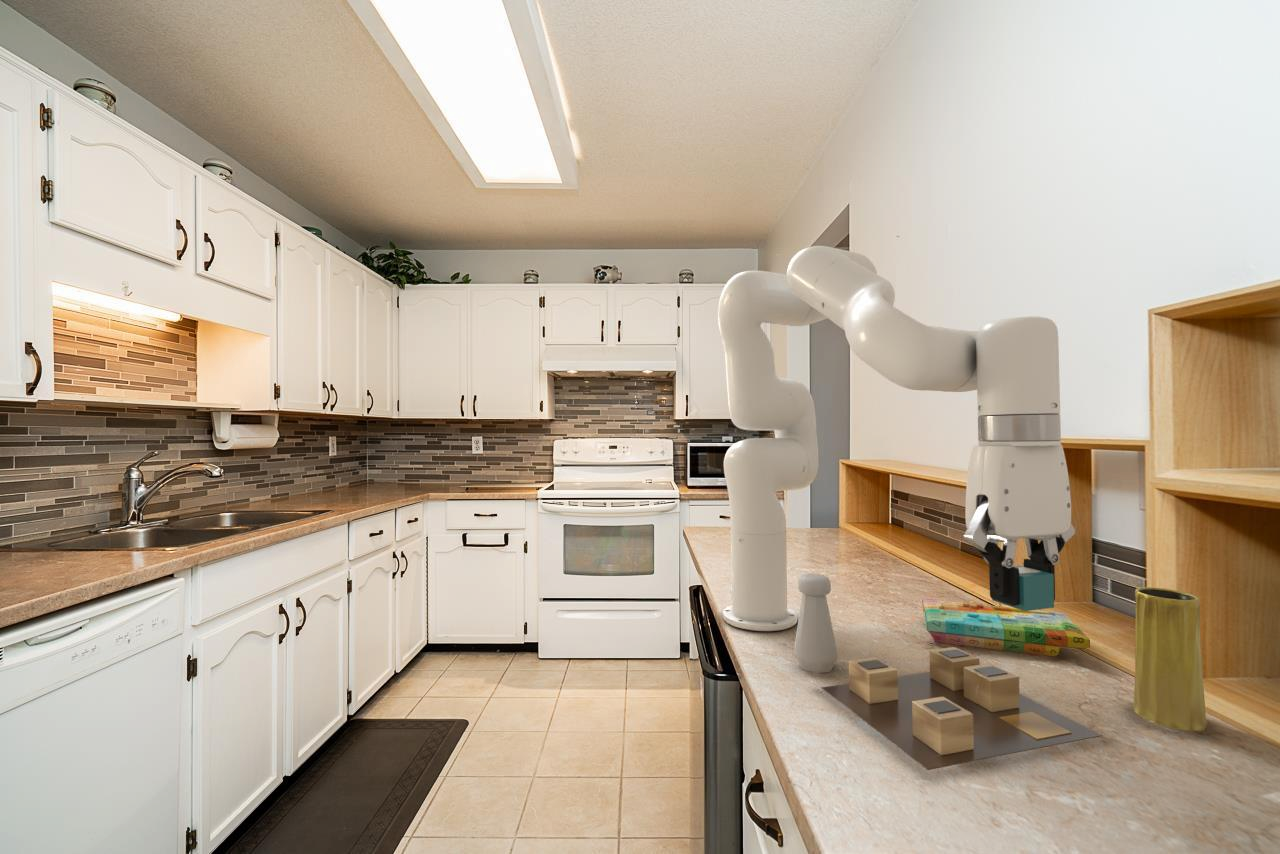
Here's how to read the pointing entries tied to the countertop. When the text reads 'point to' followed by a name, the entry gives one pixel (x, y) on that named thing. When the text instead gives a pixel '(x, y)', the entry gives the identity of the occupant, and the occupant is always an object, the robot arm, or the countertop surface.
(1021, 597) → the tile
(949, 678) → the tile
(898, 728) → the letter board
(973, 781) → the countertop surface
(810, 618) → the salt shaker
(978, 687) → the tile
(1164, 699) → the vase
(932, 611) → the puzzle game
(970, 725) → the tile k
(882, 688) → the light wood cube
